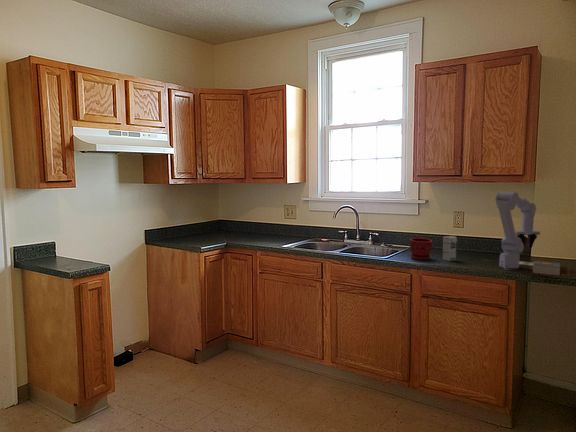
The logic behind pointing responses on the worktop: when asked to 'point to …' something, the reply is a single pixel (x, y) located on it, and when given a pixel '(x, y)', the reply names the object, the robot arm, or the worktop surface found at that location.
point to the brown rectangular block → (527, 243)
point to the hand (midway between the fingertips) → (526, 247)
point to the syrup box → (449, 248)
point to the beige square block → (526, 263)
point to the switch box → (546, 268)
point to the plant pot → (420, 248)
